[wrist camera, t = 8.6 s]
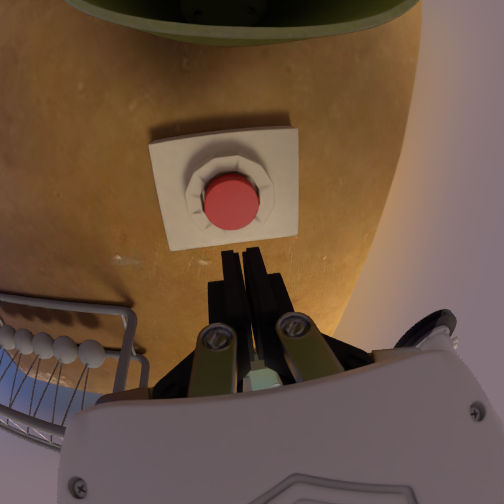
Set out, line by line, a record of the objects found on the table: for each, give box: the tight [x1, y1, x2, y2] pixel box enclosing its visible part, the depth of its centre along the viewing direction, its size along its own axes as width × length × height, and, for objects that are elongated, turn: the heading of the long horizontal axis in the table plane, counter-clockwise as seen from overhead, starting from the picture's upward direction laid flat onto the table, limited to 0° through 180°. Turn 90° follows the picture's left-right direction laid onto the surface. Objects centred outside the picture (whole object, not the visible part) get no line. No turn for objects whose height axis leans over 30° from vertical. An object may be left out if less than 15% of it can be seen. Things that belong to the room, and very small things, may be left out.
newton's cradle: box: [0, 293, 150, 453], centre depth 23 cm, size 30×10×18 cm, turn 83°
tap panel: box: [244, 354, 280, 391], centre depth 39 cm, size 12×11×3 cm
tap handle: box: [244, 377, 252, 392], centre depth 36 cm, size 7×2×5 cm, turn 3°
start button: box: [204, 174, 259, 230], centre depth 20 cm, size 4×4×2 cm
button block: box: [149, 125, 299, 251], centre depth 22 cm, size 12×10×4 cm
